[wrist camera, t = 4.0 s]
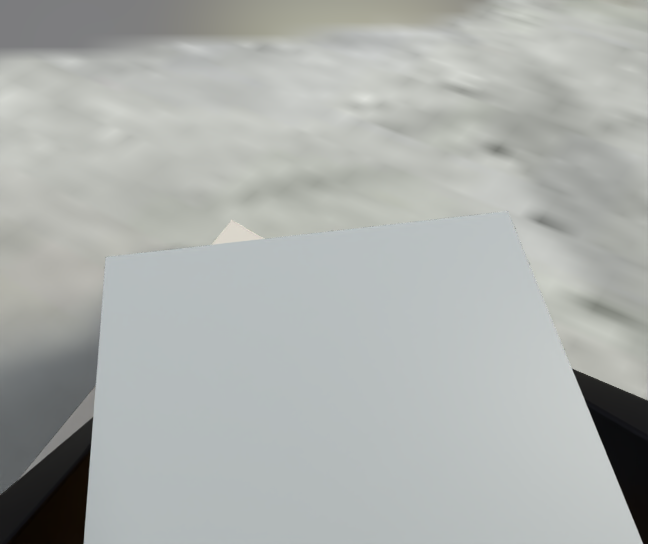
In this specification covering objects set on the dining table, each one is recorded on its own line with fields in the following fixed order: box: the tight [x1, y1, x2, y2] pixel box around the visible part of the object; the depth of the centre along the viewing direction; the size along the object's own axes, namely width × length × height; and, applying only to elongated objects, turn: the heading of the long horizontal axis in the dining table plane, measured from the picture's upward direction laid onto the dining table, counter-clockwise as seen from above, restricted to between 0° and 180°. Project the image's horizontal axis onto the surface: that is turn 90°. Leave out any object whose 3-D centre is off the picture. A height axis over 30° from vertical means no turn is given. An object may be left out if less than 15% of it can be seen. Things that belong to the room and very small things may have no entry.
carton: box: [84, 211, 643, 544], centre depth 8 cm, size 6×5×11 cm
